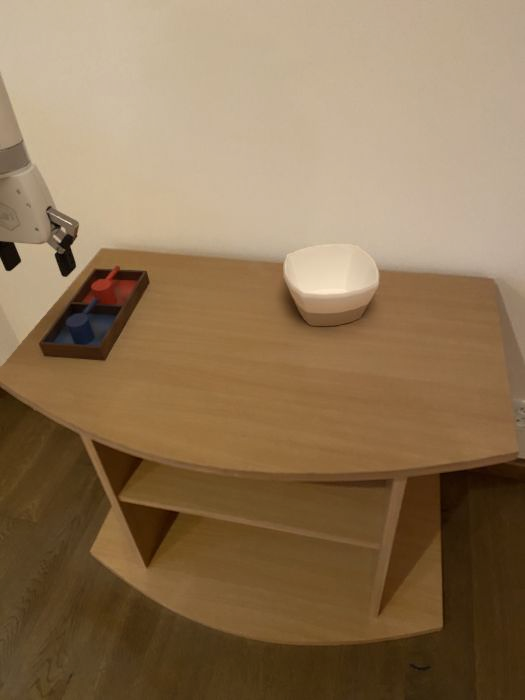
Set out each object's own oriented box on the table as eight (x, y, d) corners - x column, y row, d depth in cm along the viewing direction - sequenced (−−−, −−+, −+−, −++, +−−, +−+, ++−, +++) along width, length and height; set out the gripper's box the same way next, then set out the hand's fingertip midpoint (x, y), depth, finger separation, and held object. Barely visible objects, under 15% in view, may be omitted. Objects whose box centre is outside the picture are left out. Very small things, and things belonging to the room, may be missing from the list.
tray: (104, 360, 93) (100, 347, 91) (44, 355, 95) (38, 343, 93) (149, 282, 112) (146, 270, 110) (98, 280, 114) (94, 268, 112)
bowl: (276, 288, 107) (274, 249, 101) (358, 277, 108) (361, 237, 102) (294, 342, 94) (293, 301, 87) (387, 328, 95) (392, 287, 89)
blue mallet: (88, 346, 95) (81, 328, 92) (69, 343, 96) (61, 325, 93) (111, 315, 102) (105, 297, 99) (93, 313, 103) (87, 295, 100)
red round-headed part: (111, 309, 104) (105, 291, 101) (93, 307, 105) (87, 289, 102) (131, 283, 110) (126, 265, 107) (114, 281, 111) (109, 263, 108)
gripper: (-77, 165, 66) (-23, 277, 77) (40, 171, 62) (79, 288, 74) (-38, 145, 71) (7, 252, 83) (71, 150, 68) (103, 261, 79)
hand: (41, 269), depth 78 cm, fingers open, 9 cm apart
